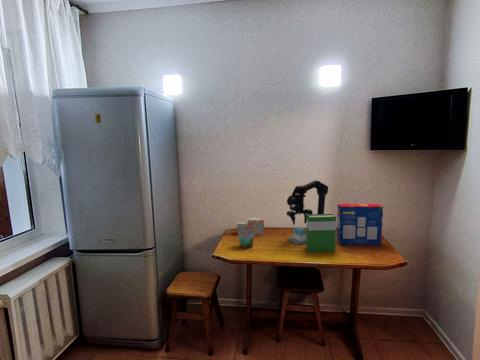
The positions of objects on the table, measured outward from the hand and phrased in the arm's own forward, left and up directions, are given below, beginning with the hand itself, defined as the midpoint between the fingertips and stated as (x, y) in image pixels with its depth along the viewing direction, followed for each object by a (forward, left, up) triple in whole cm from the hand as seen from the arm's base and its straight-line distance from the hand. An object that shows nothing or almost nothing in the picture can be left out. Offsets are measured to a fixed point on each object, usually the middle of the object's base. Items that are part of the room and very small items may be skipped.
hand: (299, 224), depth 199 cm
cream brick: (0, 0, -12) cm, 12 cm away
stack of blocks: (+28, -29, -13) cm, 43 cm away
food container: (+42, -3, -13) cm, 44 cm away
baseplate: (0, 0, -13) cm, 13 cm away
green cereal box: (-5, +19, -13) cm, 24 cm away
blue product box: (-37, +19, -13) cm, 44 cm away
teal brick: (0, 0, -8) cm, 8 cm away
